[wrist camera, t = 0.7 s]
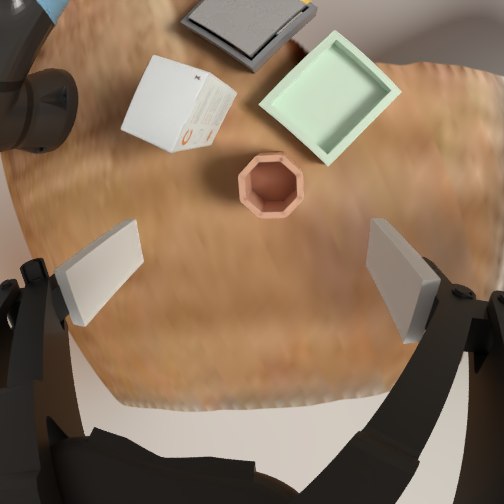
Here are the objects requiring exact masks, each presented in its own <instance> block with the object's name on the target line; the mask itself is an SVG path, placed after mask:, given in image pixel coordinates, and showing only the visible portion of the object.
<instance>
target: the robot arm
mask: <svg viewBox="0 0 504 504" xmlns="http://www.w3.org/2000/svg"><path fill="white" fill-rule="evenodd" d="M68 2H69V0H0V152H3V151H7V150H11V149H19V150H23V151H28V152H32V153H45V152H50V151H53V150H55V149H56V148H58V147H59V146H60V145H61V144H62V143H63V142H64V141H65V139H66V138H67V136H68V135H69V133H70V131H71V129H72V127H73V124H74V121H75V117H76V113H77V107H78V92H77V87H76V83H75V81H74V79H73V77H72V76H71V75H70V74H69V73H68V72H67V71H65V70H62V69H54V68H50V69H45V70H42V71H39V72H36V73H33V74H30V75H27V74H28V72H29V70H30V68H31V66H32V64H33V62H34V60H35V58H36V56H37V55H38V53H39V51H40V49H41V47H42V46H43V44H44V42H45V41H46V39H47V37H48V36H49V34H50V32H51V31H52V29H53V28H54V27H55V26H56V25H57V21H58V19H59V17H60V16H61V14H62V12H63V11H64V9H65V8H66V6H67V5H68ZM143 262H144V260H143V255H142V250H141V244H140V239H139V234H138V228H137V222H136V219H125V220H124V221H122V222H121V223H119V224H118V225H116V226H115V227H113V228H112V229H110V230H109V231H107V232H106V233H104V234H103V235H102V236H100V237H99V238H97V239H96V240H94V241H93V242H92V243H90V244H89V245H87V246H86V247H85V248H83V249H82V250H80V251H79V252H78V253H76V254H75V255H74V256H72V257H71V258H70V259H68V260H67V261H66V262H64V263H63V264H62V265H60V266H59V267H58V268H57V269H55V270H54V274H53V275H52V276H51V277H49V275H48V272H47V269H46V266H45V262H44V259H43V258H36V259H33V260H30V261H28V262H26V263H25V264H23V265H22V266H21V267H20V270H21V274H22V276H23V279H24V282H25V288H19V285H18V282H17V280H16V279H11V280H5V281H4V282H2V283H1V285H0V504H395V503H396V502H397V500H398V499H399V497H400V496H401V494H402V493H403V491H404V490H405V488H406V487H407V485H408V484H409V482H410V480H411V479H412V477H413V475H414V474H415V472H416V470H417V468H418V465H419V462H420V461H419V460H418V458H419V456H420V454H421V452H422V450H423V448H424V446H425V444H426V442H427V441H428V439H429V437H430V435H431V433H432V430H433V429H434V426H435V424H436V422H437V420H438V418H439V416H440V413H441V411H442V409H443V406H444V404H445V402H446V399H447V397H448V394H449V392H450V389H451V386H452V384H453V381H454V378H455V375H456V372H457V369H458V366H459V363H460V360H461V357H462V354H463V351H465V352H468V356H469V403H468V420H467V430H466V439H465V447H464V454H463V460H462V466H461V471H460V476H459V481H458V485H457V490H456V494H455V498H454V502H453V504H504V292H503V291H493V293H492V294H491V297H490V299H489V302H487V301H481V300H476V295H475V294H474V292H473V291H472V290H471V289H469V288H468V287H465V286H463V285H459V284H452V283H451V282H450V281H449V280H448V278H447V277H446V276H445V275H444V274H443V273H442V272H441V271H440V269H438V267H437V266H436V265H435V264H434V263H433V262H432V261H430V260H429V259H427V258H425V257H421V256H420V255H419V254H418V253H417V252H416V251H415V250H414V248H413V247H412V246H411V245H410V244H409V243H408V242H407V241H406V240H405V239H404V238H403V237H402V236H401V235H400V234H399V233H398V232H397V231H396V230H395V229H394V228H393V227H392V226H391V225H390V224H389V223H388V222H387V221H386V220H385V219H384V218H371V227H370V236H369V244H368V252H367V259H366V266H367V268H368V270H369V272H370V274H371V276H372V278H373V280H374V282H375V284H376V286H377V288H378V290H379V292H380V294H381V296H382V298H383V300H384V302H385V304H386V306H387V308H388V310H389V312H390V314H391V317H392V319H393V321H394V323H395V325H396V327H397V330H398V332H399V334H400V336H401V339H402V341H403V343H413V342H419V344H418V346H417V348H416V350H415V352H414V353H413V355H412V357H411V359H410V360H409V362H408V364H407V366H406V367H405V369H404V371H403V372H402V374H401V375H400V377H399V379H398V380H397V382H396V383H395V385H394V386H393V388H392V390H391V391H390V393H389V394H388V396H387V397H386V399H385V400H384V402H383V403H382V404H381V406H380V407H379V409H378V410H377V411H376V413H375V414H374V416H373V417H372V418H371V420H370V421H369V422H368V424H367V425H366V426H365V427H364V429H363V430H362V431H358V432H357V433H356V434H355V435H354V436H353V438H352V439H351V440H350V441H349V442H348V443H347V444H346V446H345V447H344V448H343V449H342V450H341V451H340V453H339V454H338V455H337V456H336V457H335V458H334V459H333V460H332V462H331V463H330V464H329V465H328V466H327V467H326V468H325V469H324V470H323V471H322V472H321V473H320V474H319V475H318V476H317V477H316V478H315V479H314V480H313V481H312V482H311V483H310V484H309V485H308V486H307V487H306V488H305V489H304V490H303V491H302V492H301V493H300V494H299V493H298V492H297V491H296V490H295V489H293V488H292V487H290V486H289V485H287V484H285V483H284V482H282V481H280V480H278V479H276V478H273V477H271V476H268V475H266V474H263V473H259V472H256V468H255V462H254V461H242V460H232V459H224V458H216V457H193V458H192V457H190V458H164V457H160V456H158V455H156V454H154V453H152V452H150V451H148V450H146V449H145V448H143V447H141V446H139V445H138V444H136V443H134V442H132V441H131V440H129V439H127V438H125V437H122V436H118V435H116V434H113V433H110V432H107V431H103V430H101V429H98V428H96V427H94V429H93V431H92V433H91V435H90V436H85V434H84V431H83V426H82V422H81V418H80V413H79V409H78V403H77V398H76V392H75V387H74V380H73V373H72V365H71V357H70V347H69V337H68V325H67V322H66V320H65V317H66V316H67V315H68V314H70V317H71V319H72V322H73V324H74V325H79V326H84V327H86V326H87V324H88V323H89V322H90V321H91V320H92V319H93V317H94V316H95V315H96V314H97V313H98V312H99V310H100V309H101V308H102V307H103V306H104V305H105V304H106V302H107V301H108V300H109V299H110V298H111V297H112V296H113V295H114V293H115V292H116V291H117V290H118V289H119V288H120V287H121V286H122V285H123V284H124V283H125V281H126V280H127V279H128V278H129V277H130V276H131V275H132V274H133V273H134V272H135V271H136V270H137V269H138V267H139V266H140V265H141V264H142V263H143ZM7 317H8V319H9V321H10V323H11V325H12V328H10V326H9V324H8V321H7ZM425 330H426V331H425ZM424 331H425V333H424ZM423 334H424V335H423ZM422 336H423V337H422Z"/></svg>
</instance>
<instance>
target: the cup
mask: <svg viewBox="0 0 504 504" xmlns="http://www.w3.org/2000/svg"><path fill="white" fill-rule="evenodd" d="M238 183H239V195H240V201H241V203H242V204H244V205H245V206H246V207H247V208H248V209H249V210H251V211H252V212H253V213H254V214H255V215H256V216H257V217H259V218H285V217H287V216H288V215H289V214H290V213H291V212H292V211H293V210H294V209H295V208H296V207H297V206H298V205H299V204H300V203H301V202H302V201H303V199H304V190H303V172H302V170H301V167H300V166H299V165H298V164H297V163H296V162H295V161H293V160H292V159H291V158H290V157H289V156H288V155H287V154H286V153H285V152H265V153H260V154H258V155H257V156H255V157H254V158H253V159H252V160H251V162H250V163H249V164H248V165H247V166H246V167H245V168H244V169H243V171H242V172H241V173H240V174H239V175H238Z"/></svg>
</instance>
